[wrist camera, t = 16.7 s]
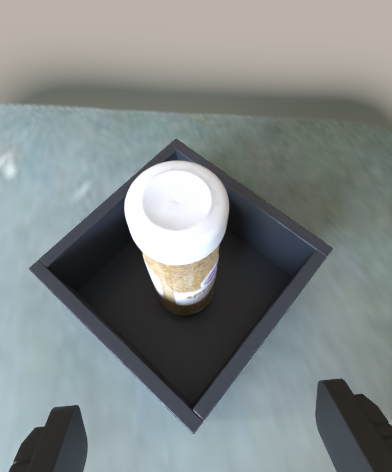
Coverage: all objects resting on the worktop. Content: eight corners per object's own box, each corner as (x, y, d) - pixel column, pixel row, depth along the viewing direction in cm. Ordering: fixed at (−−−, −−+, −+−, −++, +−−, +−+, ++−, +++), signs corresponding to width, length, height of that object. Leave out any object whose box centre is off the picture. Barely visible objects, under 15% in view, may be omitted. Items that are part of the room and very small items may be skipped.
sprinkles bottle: (207, 322, 25) (219, 260, 13) (149, 309, 26) (107, 237, 13) (219, 266, 27) (238, 166, 15) (164, 255, 27) (139, 148, 15)
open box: (179, 187, 31) (175, 138, 25) (302, 279, 27) (333, 248, 21) (66, 296, 27) (27, 268, 21) (194, 422, 23) (193, 434, 17)
